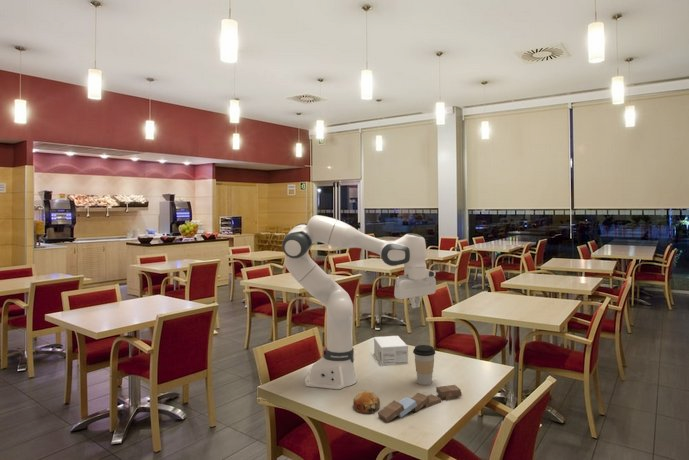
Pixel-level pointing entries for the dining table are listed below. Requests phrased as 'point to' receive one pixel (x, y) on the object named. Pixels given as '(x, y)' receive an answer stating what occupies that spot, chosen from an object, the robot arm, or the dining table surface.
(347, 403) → the dining table surface
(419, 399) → the domino
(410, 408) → the domino
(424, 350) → the coffee cup
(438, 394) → the domino
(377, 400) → the bread roll
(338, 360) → the robot arm
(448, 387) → the domino
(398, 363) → the supplement box
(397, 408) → the domino
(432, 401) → the domino
